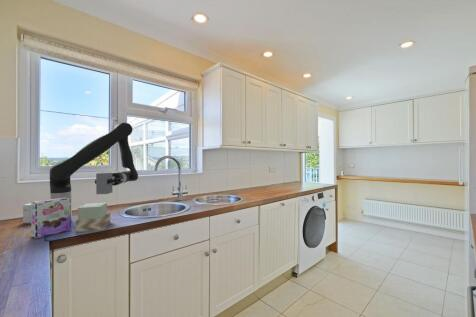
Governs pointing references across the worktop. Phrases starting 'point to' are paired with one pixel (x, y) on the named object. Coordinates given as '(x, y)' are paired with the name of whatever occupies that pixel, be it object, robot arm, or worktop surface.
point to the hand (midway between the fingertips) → (101, 181)
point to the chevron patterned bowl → (93, 223)
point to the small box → (27, 213)
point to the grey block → (103, 183)
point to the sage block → (92, 211)
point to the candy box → (50, 217)
